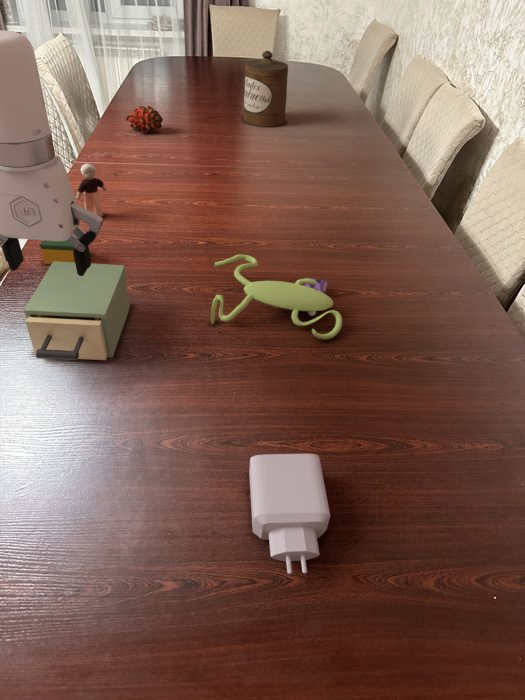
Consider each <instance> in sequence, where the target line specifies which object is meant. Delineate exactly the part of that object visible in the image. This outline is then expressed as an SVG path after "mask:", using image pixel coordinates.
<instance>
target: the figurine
mask: <svg viewBox="0 0 525 700" xmlns="http://www.w3.org/2000/svg"><path fill="white" fill-rule="evenodd" d="M237 261H245V262H249V263H242V264H239V265H237V266H236V268H235V269H234V272H233V276H234V278H235V279H236V280H237V281H238V282H240V283H241V285H243V286H244V287H243V292H244V293H245V295H246V296H245V297H244V299H243V300H242V301H241V302H240V303H239V304H238V305H237V306H236V307H235V308H234V309H233V310H232V311H231V312H230V313H229V314H226V315H225V314H224V313H225V312H224V296H223V295H222V294H216V295H215V296H214V298H213V300H212V303H211V309H210V310H211V311H210V323H211V325H214V323H215V321H216V312H217V306H218V304H219V302H220V304H219V309H218V310H219V311H218V317H219V319H220V321H221V322H224V323H229V322H230V321H232V320H234V319H235V318H236V317H237V316H238V315H239V314H240V313H241V312H242V311H244V310H245V309H246V308H247V306H249V304H250V303H251V301H253V300H254V301H257V302H259V303H261V304H262V305H263V304H264V305H266V306H269V307H272V308H273V309H282V310H288V311H291V316H290V317H291V320H292V323H293V324H294V325H295V326H297V327H306V326H309V325H312V324H314V323H316V322H317V321H319V320H321V319H322V318H323V317H324V316H325V315H327V314H331V315H333V316H334V318H335V325H334V327H333V329H332V330H331V331H329V332H327V333H319V332H317V331H316V330H315V329H314V328H312V329H311V333H312V335H313V336H314V337H315V338H317V339H318V340H323V341H325V340H330V339H333V338H335V337H336V336H337V335H338V334H339V333H340V331H341V329H342V326H343V317H342V315H341V313H340V312H339V311H337V310H335V309H332V310H328V309H330V308H332V307H333V305H334V301H333V299H332V297H330V296H329V295H327V294H326V293H327V289H328V285H329V280H322V279H317V278H312V277H309V276H306V277H305V278H300V279H297V280H296V281H295V283H294V282H288V281H281V280H259V281H250V280H248V279H247V278H245V276H243V275H242V274H241V273H242V272H243V271H245V270H252V269H255V268H257V267H258V266H259V262H258V260H257V259H256V258H255V257H253V256H250V255H248V254H241V253H240V254H235V255H233V256H231V257H229V258H227V259H224V260H220V261H215V262H214V265H213V268H214V269H217V268H222V267H224V266H227V265H230V264H233V263H235V262H237ZM325 310H328V311H326V312H324V313H322V314H320V315H318V316H316V314H317V312H321V311H325ZM299 312H307V314H308V315H309V316H310V317H313V316H316V317H315V318H313V319H311V320H308V321H304V322H303V321H301V320H300V319H299V317H298V316H299Z"/></svg>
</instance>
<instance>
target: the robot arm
mask: <svg viewBox="0 0 525 700" xmlns="http://www.w3.org/2000/svg"><path fill="white" fill-rule="evenodd" d="M51 131H52V130H51V127H50V123H49V118H48V112H47V107H46V102H45V97H44V92H43V88H42V84H41V78H40V73H39V68H38V63H37V58H36V53H35V50H34V46H33V45H32V43H31V41H30V40H29V38H28V37H27V36H26V35H24V34H23V33H20V32H17V31H12V30H6V29H5V30H3V29H0V246H1V249H2V253H3V257H4V259H5V261H6V262H7V264H8V268H9V270H10V271H13V272H15V271H16V270H18V269H19V267H20V266H21V265H22V264H23V262H24V261H25V259H24V258H25V257H24V254H23V251H22V247H21V244H20V241H19V240H31V241H66V240H67V241H68V242H69V243H71V244H72V245H73V246H74V247H75V250H74V252H73V255H74V260H75V265H76V269H77V274H78V275H79V276H84V274H85V272H86V271H87V269H88V268H90V266H91V263H92V258H91V253H90V247H89V246H90V245H91V244H92V243H93V242H94V241H95V240H96V238H97V236H98V234H99V233H100V230H101V228H102V226H103V224H104V218H103V216H102V217H100V216H98V215H96V214H95V213H93V212H91V211H89V210H87V209H85V207H83V206H81V205H79V204H78V203H77V199H76V195H75V193H74V190H73V186H72V183H71V180H70V178H69V174H68V172H67V170H66V167H65V165H64V162H63V160H62V158H61V157H60V156H58V155H56V151H55V146H54V142H53V137H52V132H51ZM80 221H81V222H83V223H85V224H87V225H88V230H87V231H85V230H84V229H83V228H82V227H81V226H80Z"/></svg>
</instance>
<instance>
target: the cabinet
mask: <svg viewBox="0 0 525 700" xmlns="http://www.w3.org/2000/svg"><path fill="white" fill-rule="evenodd" d="M128 287H129V286H128V281H127V273H126V265H124V264H109V263H108V264H107V263H93V262H91V266H90V268H88V269H87V271H86V272H85V274H84V276H79V275H78V274H77V269H76V265H75V262H57V261H53V262H52V264H50V266H49V268H48V269H47V271H46V273H44V276H43V277H42V279H41V281H40V283H39V284H38V286H37V288H36V289H35V291H34V292H33V294H32V296H31V297H30V299H29V301H28V302H27V304H26V306H25V307H24V309H23V312H24V316H25V320H27V318H28V317H37V316H36V315H53V316H72V317H91V318H101V321H102V326H103V332H104V338H105V343H106V350H107V358H111V359H112V358H114V355H115V352H116V350H117V346H118V343H119V340H120V338H121V335H122V332H123V328H124V325H125V322H126V320H127V317H128V314H129V312H130V308H131V304H130V303H131V302H130V295H129V289H128Z"/></svg>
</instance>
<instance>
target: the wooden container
mask: <svg viewBox="0 0 525 700" xmlns="http://www.w3.org/2000/svg"><path fill="white" fill-rule="evenodd" d="M261 56H262V59H252V60H248V61H246V62H245V65H244V66H245V67H244V68H245V69H244V71H245V72H244V73H245V77H244V96H243V120H244V122H246V123H247V124H250V125H253V126H259V127H277V126H281V125H283V124H284V123H285V121H286V110H287V109H286V108H287V95H288V75H289V65H288V64H287V63H286V62H284V61H279V60H274V59H273V53H272V52H271V51H270V50H265V51H264V52H262V54H261Z"/></svg>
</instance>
